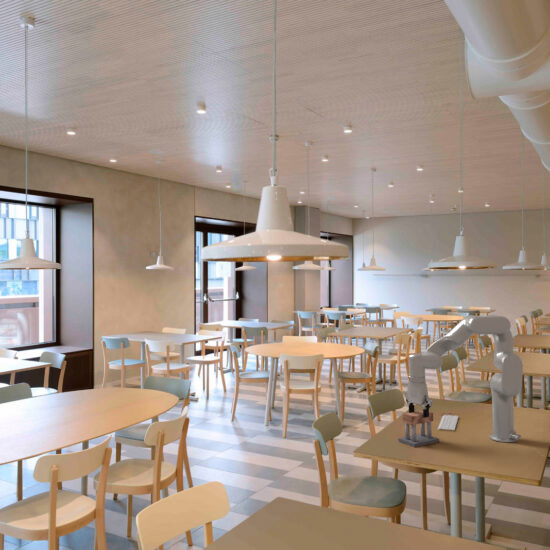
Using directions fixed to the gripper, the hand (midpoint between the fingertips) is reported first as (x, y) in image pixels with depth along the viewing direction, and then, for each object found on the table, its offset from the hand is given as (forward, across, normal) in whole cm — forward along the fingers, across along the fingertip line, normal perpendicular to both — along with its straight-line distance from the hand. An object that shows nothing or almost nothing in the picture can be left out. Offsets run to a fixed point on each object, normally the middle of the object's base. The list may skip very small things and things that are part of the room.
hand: (418, 415), depth 263 cm
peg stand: (+13, 0, -1) cm, 13 cm away
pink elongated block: (+3, 0, 0) cm, 3 cm away
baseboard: (+14, -17, +36) cm, 42 cm away
